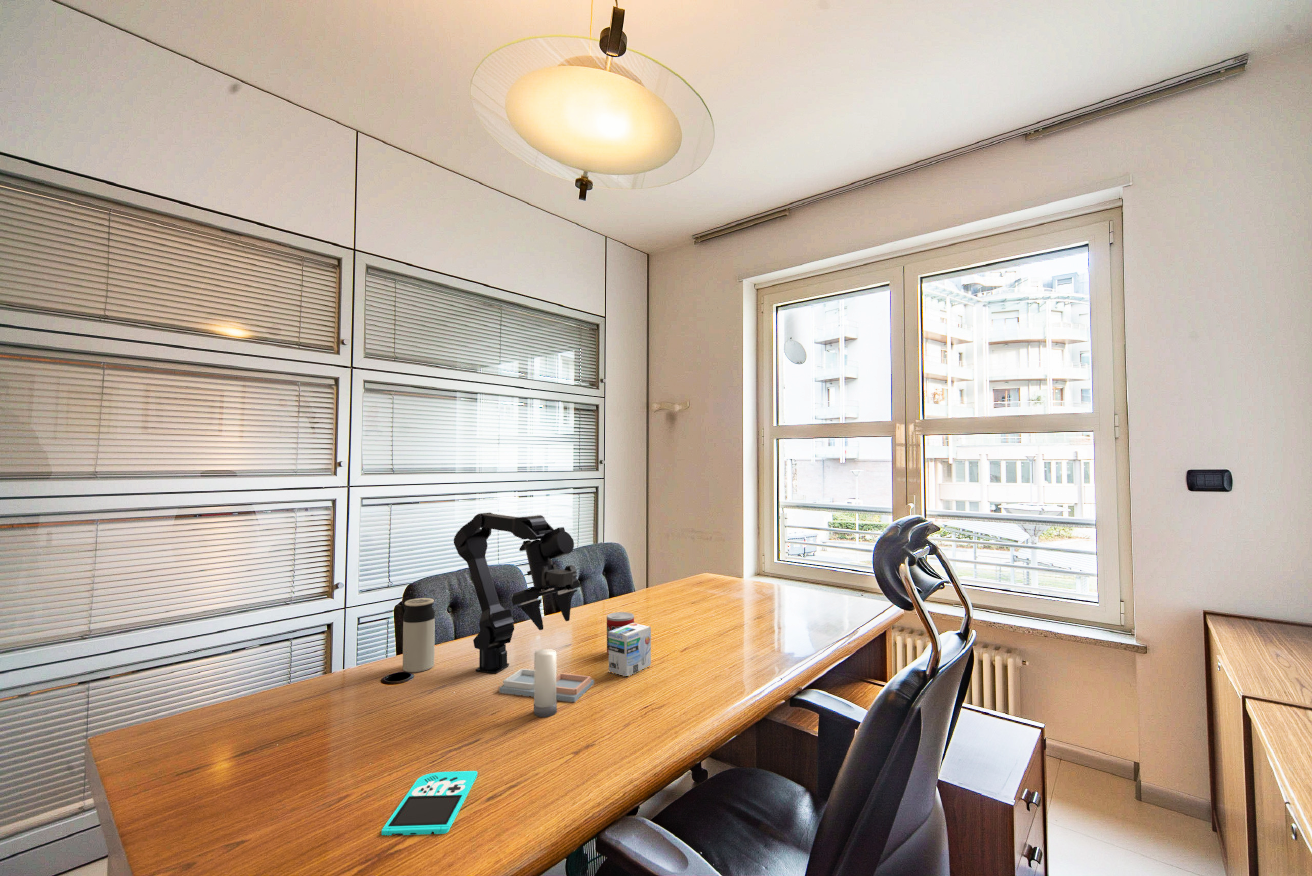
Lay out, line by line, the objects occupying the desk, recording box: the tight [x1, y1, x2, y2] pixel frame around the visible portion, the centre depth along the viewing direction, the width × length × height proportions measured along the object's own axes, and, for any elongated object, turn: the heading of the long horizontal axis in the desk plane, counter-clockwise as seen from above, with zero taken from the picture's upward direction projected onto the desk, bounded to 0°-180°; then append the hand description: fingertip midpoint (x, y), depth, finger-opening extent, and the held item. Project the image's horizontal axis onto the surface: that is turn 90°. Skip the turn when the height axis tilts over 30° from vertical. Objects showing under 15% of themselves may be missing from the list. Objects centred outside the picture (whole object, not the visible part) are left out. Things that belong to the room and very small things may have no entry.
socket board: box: [498, 668, 595, 703], centre depth 137 cm, size 20×11×2 cm, turn 72°
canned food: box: [606, 611, 635, 655], centre depth 162 cm, size 8×8×11 cm
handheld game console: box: [381, 770, 478, 836], centre depth 90 cm, size 10×16×1 cm, turn 2°
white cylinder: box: [533, 648, 558, 718], centre depth 124 cm, size 5×5×13 cm
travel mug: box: [402, 597, 436, 673], centre depth 152 cm, size 8×8×18 cm
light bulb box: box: [608, 622, 652, 677], centre depth 150 cm, size 11×7×11 cm, turn 143°
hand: (554, 625), depth 138 cm, fingers open, 9 cm apart
